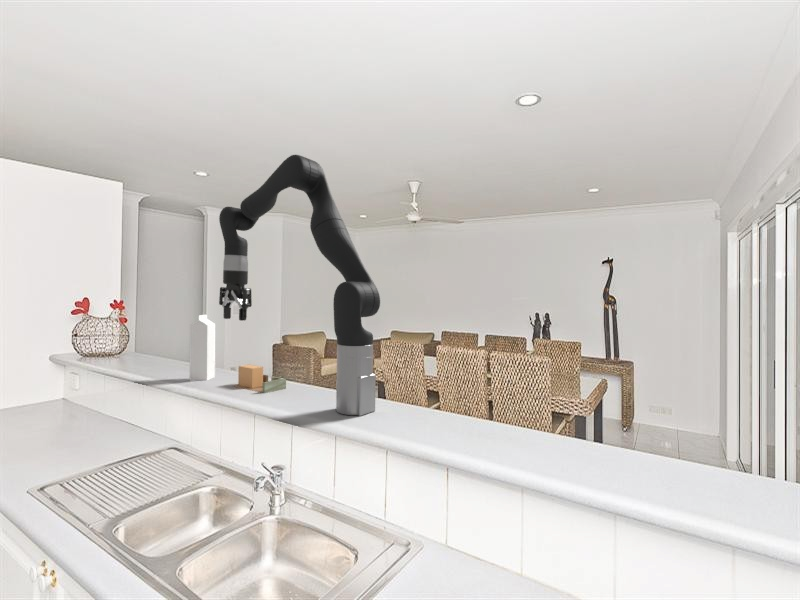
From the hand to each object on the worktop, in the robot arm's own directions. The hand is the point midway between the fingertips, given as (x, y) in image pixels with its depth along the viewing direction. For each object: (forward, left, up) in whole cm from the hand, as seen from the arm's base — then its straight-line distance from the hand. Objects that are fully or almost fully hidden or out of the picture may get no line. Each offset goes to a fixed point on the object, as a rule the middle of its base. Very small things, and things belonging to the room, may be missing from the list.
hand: (234, 319), depth 146 cm
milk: (+13, +3, -21) cm, 25 cm away
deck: (-13, 0, -21) cm, 24 cm away
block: (-9, 0, -21) cm, 22 cm away
